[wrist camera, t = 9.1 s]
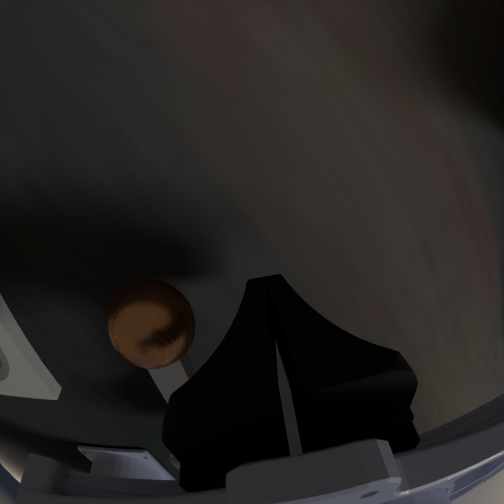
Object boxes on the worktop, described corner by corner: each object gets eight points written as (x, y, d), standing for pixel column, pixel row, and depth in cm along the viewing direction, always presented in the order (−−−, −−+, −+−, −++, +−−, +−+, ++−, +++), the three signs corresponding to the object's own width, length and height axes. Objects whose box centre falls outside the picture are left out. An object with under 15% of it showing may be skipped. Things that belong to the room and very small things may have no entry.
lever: (234, 402, 17) (237, 453, 14) (177, 408, 17) (172, 457, 14) (186, 256, 13) (174, 311, 9) (108, 270, 13) (79, 323, 9)
